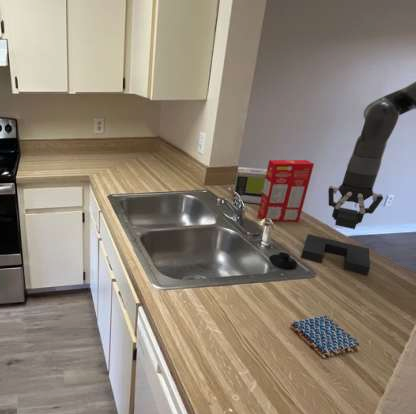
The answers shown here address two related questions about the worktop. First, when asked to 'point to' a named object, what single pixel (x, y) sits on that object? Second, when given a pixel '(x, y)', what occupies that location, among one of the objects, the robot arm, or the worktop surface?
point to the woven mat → (324, 336)
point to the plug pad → (347, 218)
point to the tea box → (250, 184)
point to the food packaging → (285, 190)
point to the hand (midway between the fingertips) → (345, 220)
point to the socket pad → (354, 255)
